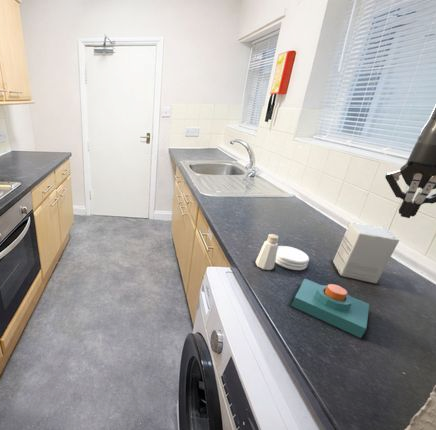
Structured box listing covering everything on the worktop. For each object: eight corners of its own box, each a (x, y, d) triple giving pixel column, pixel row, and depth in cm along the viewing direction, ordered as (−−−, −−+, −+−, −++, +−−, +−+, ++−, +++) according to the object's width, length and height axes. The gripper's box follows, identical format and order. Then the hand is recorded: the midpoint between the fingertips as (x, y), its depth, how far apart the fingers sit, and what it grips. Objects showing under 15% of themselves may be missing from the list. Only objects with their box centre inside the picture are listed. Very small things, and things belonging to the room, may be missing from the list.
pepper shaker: (274, 264, 86) (284, 234, 82) (272, 272, 82) (283, 241, 77) (256, 258, 89) (265, 229, 84) (253, 266, 85) (262, 236, 80)
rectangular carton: (365, 268, 85) (386, 227, 79) (377, 284, 78) (401, 240, 72) (331, 261, 89) (349, 221, 83) (339, 275, 81) (359, 233, 75)
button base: (364, 312, 67) (373, 297, 65) (360, 338, 60) (370, 322, 58) (301, 286, 76) (306, 272, 74) (291, 306, 69) (297, 291, 67)
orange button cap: (345, 295, 66) (348, 289, 65) (343, 303, 64) (346, 297, 63) (325, 288, 69) (328, 281, 68) (323, 295, 66) (326, 289, 65)
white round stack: (298, 275, 81) (302, 265, 80) (265, 259, 88) (268, 250, 87) (311, 264, 87) (315, 255, 85) (279, 250, 94) (282, 242, 92)
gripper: (488, 144, 54) (444, 220, 61) (398, 137, 63) (368, 204, 70) (498, 148, 49) (448, 230, 56) (399, 140, 58) (367, 212, 65)
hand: (404, 216), depth 63 cm, fingers closed
